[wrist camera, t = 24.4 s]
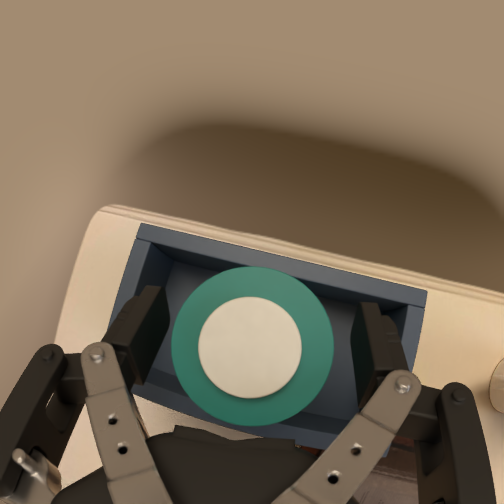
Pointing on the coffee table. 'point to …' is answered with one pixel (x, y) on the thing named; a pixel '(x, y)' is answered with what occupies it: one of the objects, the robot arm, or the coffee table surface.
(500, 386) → the mug
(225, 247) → the open storage box
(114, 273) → the coffee table surface
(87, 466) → the coffee table surface
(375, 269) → the coffee table surface
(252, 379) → the plastic bottle
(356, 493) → the book
